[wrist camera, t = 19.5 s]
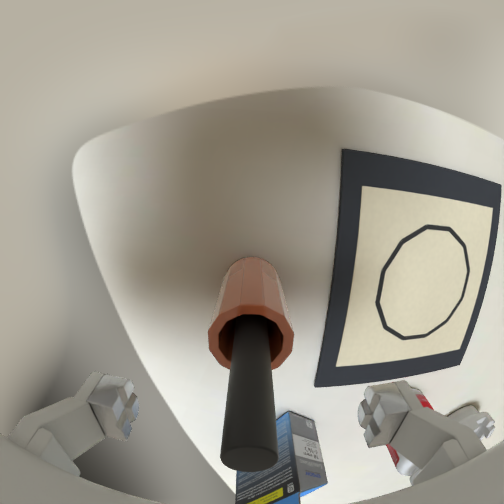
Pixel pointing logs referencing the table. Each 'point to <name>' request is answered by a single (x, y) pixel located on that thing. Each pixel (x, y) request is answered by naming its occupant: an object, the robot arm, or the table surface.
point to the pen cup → (251, 309)
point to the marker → (250, 400)
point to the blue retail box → (286, 466)
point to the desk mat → (405, 268)
